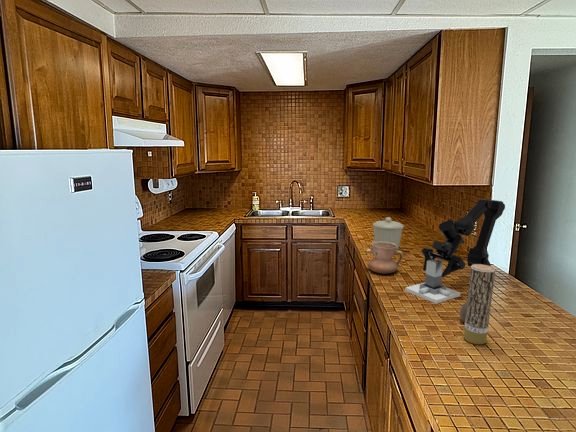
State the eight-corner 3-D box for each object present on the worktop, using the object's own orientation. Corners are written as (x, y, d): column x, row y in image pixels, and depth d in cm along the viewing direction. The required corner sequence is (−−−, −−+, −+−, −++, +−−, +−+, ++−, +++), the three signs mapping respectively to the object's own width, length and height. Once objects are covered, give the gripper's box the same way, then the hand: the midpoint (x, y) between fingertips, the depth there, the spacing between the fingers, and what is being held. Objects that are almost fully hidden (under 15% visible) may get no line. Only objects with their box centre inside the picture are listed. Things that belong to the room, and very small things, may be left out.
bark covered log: (466, 333, 130) (474, 262, 125) (488, 339, 125) (497, 267, 121) (460, 340, 124) (468, 267, 120) (483, 347, 120) (492, 272, 116)
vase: (468, 328, 133) (470, 304, 132) (454, 319, 140) (457, 297, 138) (484, 326, 135) (487, 302, 133) (470, 317, 142) (472, 295, 140)
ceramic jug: (366, 275, 187) (367, 247, 184) (364, 266, 201) (366, 240, 198) (403, 277, 184) (406, 249, 182) (399, 268, 198) (401, 241, 196)
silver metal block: (431, 287, 167) (433, 259, 165) (440, 290, 163) (443, 261, 161) (424, 289, 165) (426, 260, 162) (433, 292, 161) (436, 263, 159)
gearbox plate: (428, 284, 175) (429, 277, 175) (460, 296, 162) (461, 288, 161) (405, 290, 167) (405, 283, 166) (436, 303, 154) (436, 295, 153)
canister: (405, 256, 221) (408, 220, 217) (374, 255, 221) (376, 219, 217) (397, 247, 238) (399, 214, 235) (368, 247, 239) (370, 214, 235)
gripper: (425, 229, 170) (407, 257, 166) (464, 238, 154) (444, 268, 150) (435, 244, 175) (417, 271, 172) (473, 254, 160) (454, 284, 156)
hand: (432, 273), depth 162 cm, fingers open, 9 cm apart
